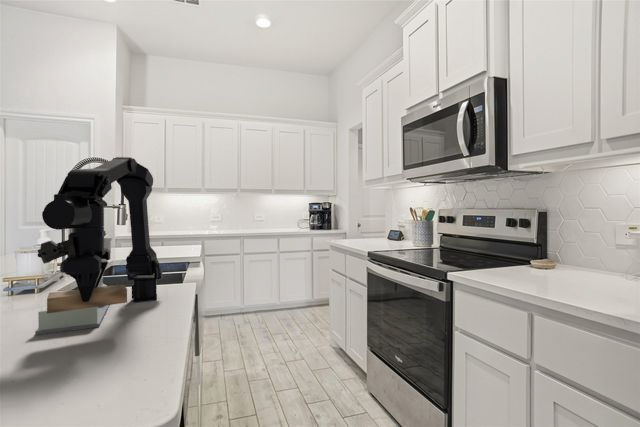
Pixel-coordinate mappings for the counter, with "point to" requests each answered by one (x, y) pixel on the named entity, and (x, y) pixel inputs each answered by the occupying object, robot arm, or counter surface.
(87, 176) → the robot arm
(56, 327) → the peg cradle
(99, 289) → the shelf board
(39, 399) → the counter surface
